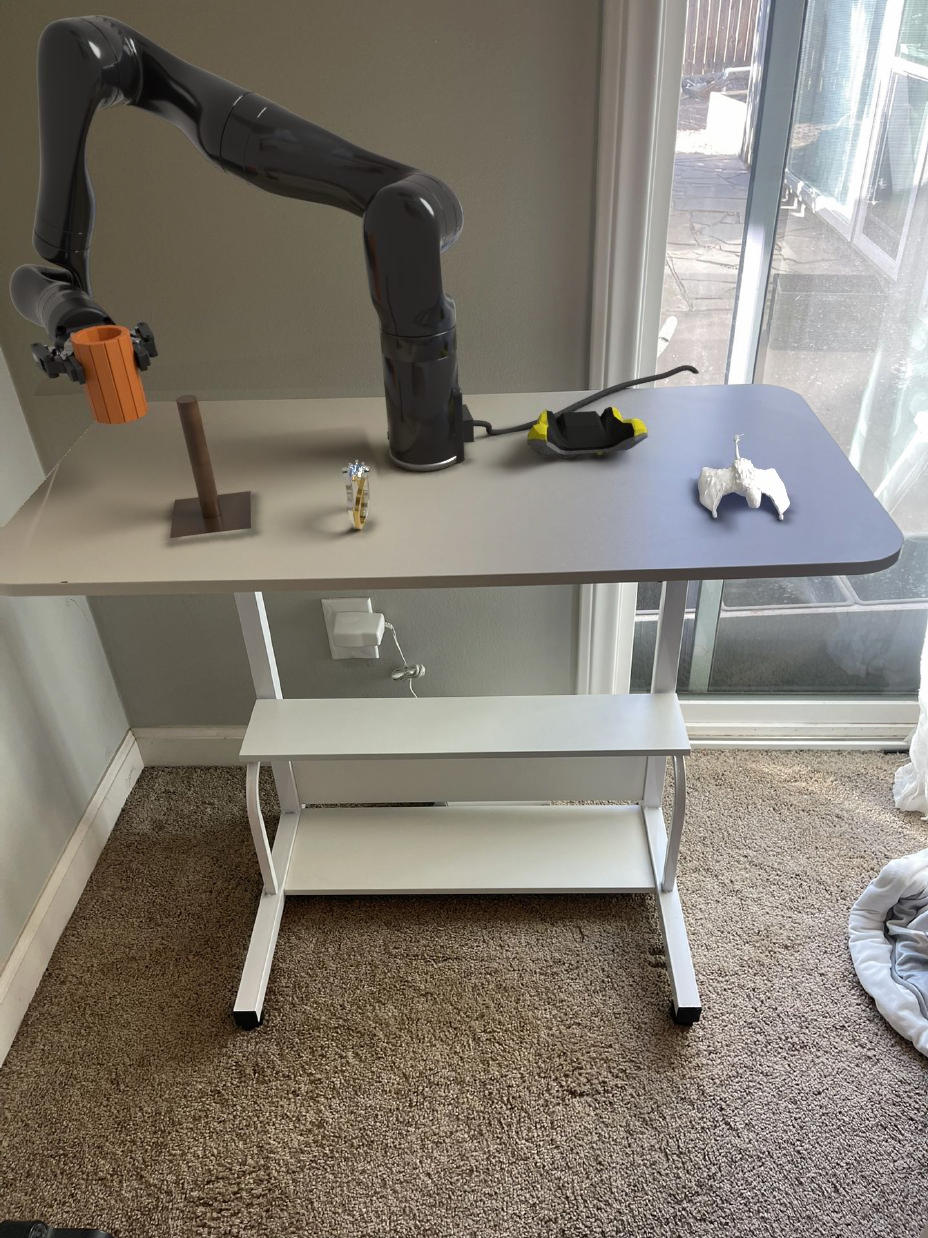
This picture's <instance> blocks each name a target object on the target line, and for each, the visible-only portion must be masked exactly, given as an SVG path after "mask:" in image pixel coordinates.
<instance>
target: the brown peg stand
mask: <svg viewBox="0 0 928 1238" xmlns="http://www.w3.org/2000/svg"><path fill="white" fill-rule="evenodd" d="M175 401H176V402H175V403H176V406H177V411H178V415H179V420H180V424H181V428H182V432H183V436H184V441H185V445H186V449H187V455H188V459H189V462H190V467H191V471H192V475H193V480H194V484H195V488H196V494H197V496H196V497H189V498H188V497H187V498H180V499H174V506H173V512H172V523H171V530H170V539H174V538H182V537H190V536H198V535H206V534H215V533H223V532H231V531H238V530H247V529H252V499H251V498H252V495H251V494H252V493H251V490H248V491H247V490H246V491H238V492H230V493H229V492H228V493H221V494H218V489H217V484H216V479H215V475H214V470H213V466H212V462H211V461H212V460H211V457H210V452H209V448H208V444H207V438H206V433H205V429H204V423H203V420H202V415H201V411H200V405H199V401H198V397H197V396H196V395H193V394H185V395H181V396H178V397H177V398H176V399H175Z"/></svg>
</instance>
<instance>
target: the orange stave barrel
mask: <svg viewBox="0 0 928 1238" xmlns="http://www.w3.org/2000/svg"><path fill="white" fill-rule="evenodd" d="M116 325H117V324H116ZM116 325H103V326H97V327H95V326H94V327H90V328H86V329H83V330H80V331H78V332H76V333H75V334H73V335H72V337H71V339H70V340H71V343H72V347H73V350H74V354H75V357H76V359H77V361H78V362H79V363H80V365H81V367H82V370H83V373H84V377H85V381H86V384H82V385H83V389H84V393H85V395H86V399H87V402H88V406H89V408H90V413H91V417H92V419H93V420H94V421H95V422H97V423H98V424H104V425H121V424H127V423H131V422H133V421H136V420H139V419H141V418H142V417H143V416H146V415H147V413H148V410H149V407H148V402H147V399H146V394H145V389H144V386H143V381H142V377H141V373H140V369H139V368H138V365H137V361H136V357H135V353H134V349H133V345H132V341H131V337H130V333H129V331H130V330H129V328H127V327H125V326H122V325H117V326H116Z"/></svg>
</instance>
